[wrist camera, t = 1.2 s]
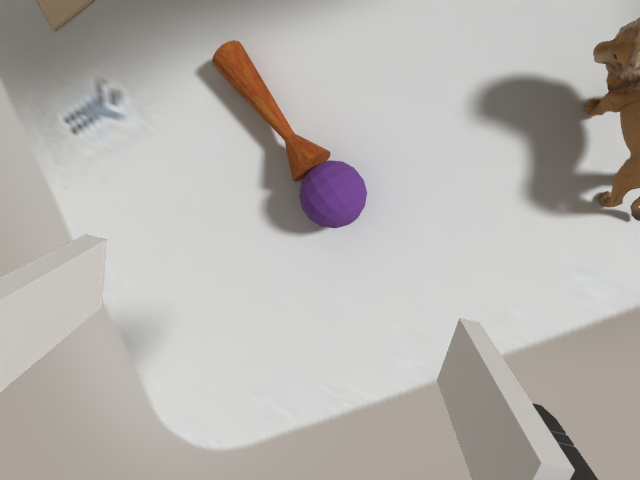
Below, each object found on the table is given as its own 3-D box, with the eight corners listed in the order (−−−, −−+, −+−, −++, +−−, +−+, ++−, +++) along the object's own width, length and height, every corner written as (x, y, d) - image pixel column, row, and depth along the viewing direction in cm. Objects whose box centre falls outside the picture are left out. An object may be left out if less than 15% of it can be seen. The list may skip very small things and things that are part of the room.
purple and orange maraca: (245, 16, 38) (382, 193, 35) (259, 53, 44) (377, 207, 41) (190, 56, 38) (323, 236, 35) (212, 88, 43) (327, 244, 41)
